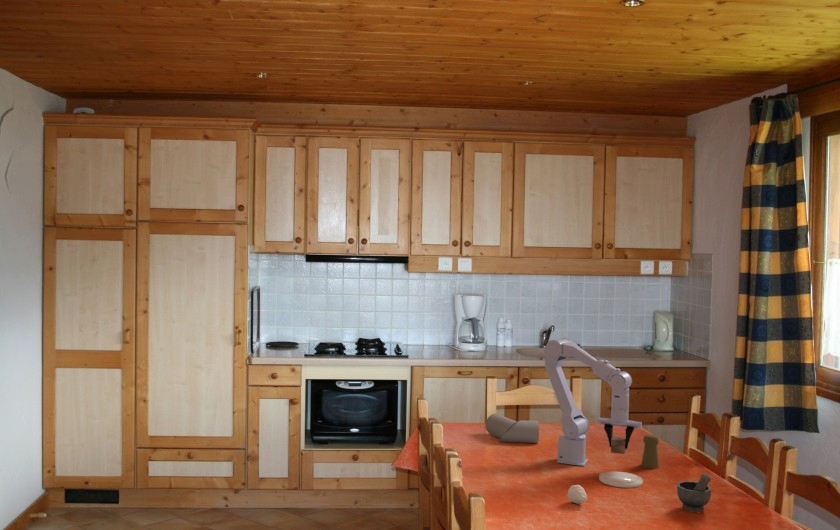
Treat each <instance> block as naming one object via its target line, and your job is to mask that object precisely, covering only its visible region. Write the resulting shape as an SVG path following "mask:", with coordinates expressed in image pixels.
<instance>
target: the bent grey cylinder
mask: <svg viewBox="0 0 840 530" xmlns="http://www.w3.org/2000/svg"><path fill="white" fill-rule="evenodd" d="M539 425H540V424H539V421H538V420H524V419H523V420H518V421H516V420H514V419H511V418H509V417H506V416H504V415H501V414H499V413H491V415H489V416H488V418H487V419H486V421H485V430H486V432H487V433H489V434H490V435H492V436H495V437H497V438H499V439H500V440H499V442H500V443H526V444H539V440H540V439H539V438H540V426H539Z"/></svg>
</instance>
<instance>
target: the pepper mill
mask: <svg viewBox="0 0 840 530" xmlns="http://www.w3.org/2000/svg"><path fill="white" fill-rule="evenodd" d="M642 441H643V443H644V447H643V454H642V459H641V467H642V468H645V469H653V470H654V468H655V469H659V467H660V464H659V463H660V461H659V451H658V444H659V441H660V440H659V437H658V436H657V435H655V434H645V435H644V437H643V440H642Z"/></svg>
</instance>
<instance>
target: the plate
mask: <svg viewBox="0 0 840 530" xmlns="http://www.w3.org/2000/svg"><path fill="white" fill-rule="evenodd" d="M598 480H599V482H601V483H602V484H605V485H607V486H610V487H615V488H623V489H631V488H638V487H642V485H643V483H644V479H643V478H642V477H640V476H639V475H636V474H634V473H630V472H626V471H625V472H624V471H606V472H601V473H599V475H598Z"/></svg>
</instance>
